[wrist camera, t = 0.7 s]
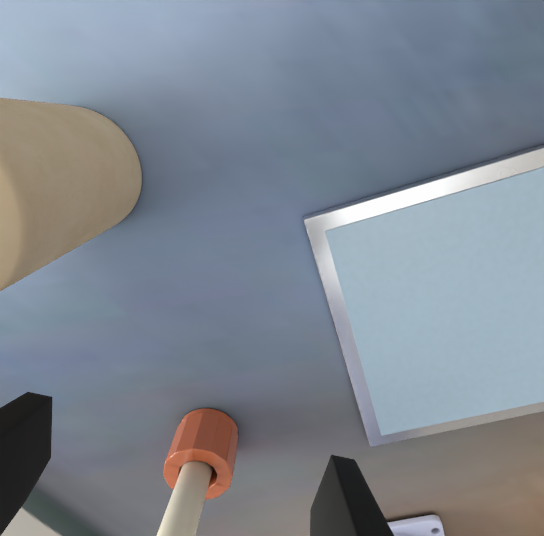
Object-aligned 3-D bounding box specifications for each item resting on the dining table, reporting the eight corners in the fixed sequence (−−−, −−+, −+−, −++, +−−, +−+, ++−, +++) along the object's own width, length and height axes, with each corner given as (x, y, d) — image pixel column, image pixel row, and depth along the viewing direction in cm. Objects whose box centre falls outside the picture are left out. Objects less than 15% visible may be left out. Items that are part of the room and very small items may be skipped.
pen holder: (246, 448, 23) (240, 493, 20) (192, 459, 23) (179, 505, 20) (226, 402, 22) (217, 443, 19) (169, 415, 22) (152, 457, 19)
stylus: (224, 445, 22) (165, 688, 12) (199, 451, 22) (119, 694, 12) (215, 423, 22) (145, 654, 12) (189, 429, 22) (98, 661, 12)
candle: (90, 79, 16) (-193, 9, 6) (167, 191, 17) (30, 267, 8) (-1, 149, 17) (-352, 176, 8) (79, 248, 19) (-131, 372, 9)
